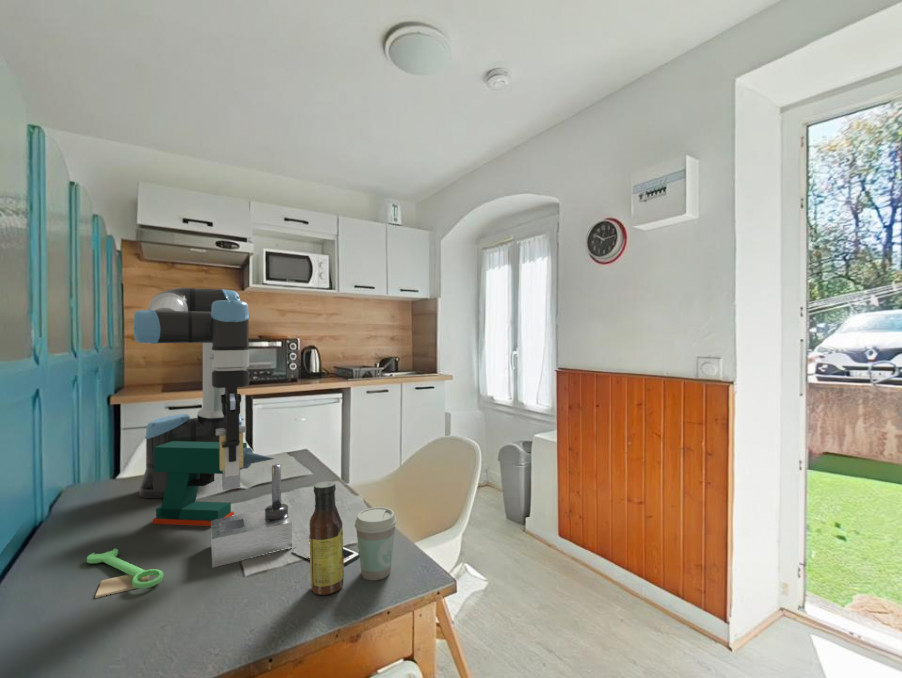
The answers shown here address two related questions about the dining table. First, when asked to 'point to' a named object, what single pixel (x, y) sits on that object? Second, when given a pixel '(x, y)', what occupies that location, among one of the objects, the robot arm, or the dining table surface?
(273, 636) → the dining table surface
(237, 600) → the dining table surface
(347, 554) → the cell phone
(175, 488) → the power tool
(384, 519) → the coffee cup
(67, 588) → the dining table surface
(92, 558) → the wrench
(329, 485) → the sauce bottle
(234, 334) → the robot arm
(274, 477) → the block
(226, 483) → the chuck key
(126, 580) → the key mat
